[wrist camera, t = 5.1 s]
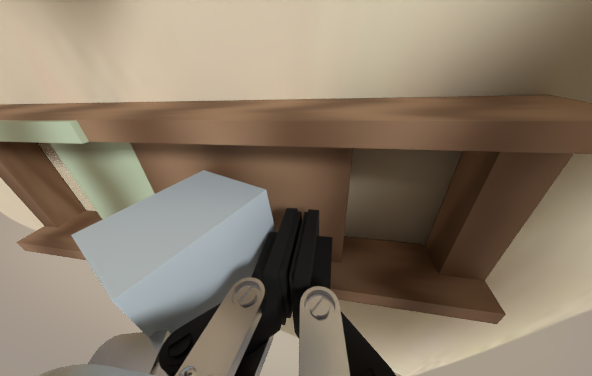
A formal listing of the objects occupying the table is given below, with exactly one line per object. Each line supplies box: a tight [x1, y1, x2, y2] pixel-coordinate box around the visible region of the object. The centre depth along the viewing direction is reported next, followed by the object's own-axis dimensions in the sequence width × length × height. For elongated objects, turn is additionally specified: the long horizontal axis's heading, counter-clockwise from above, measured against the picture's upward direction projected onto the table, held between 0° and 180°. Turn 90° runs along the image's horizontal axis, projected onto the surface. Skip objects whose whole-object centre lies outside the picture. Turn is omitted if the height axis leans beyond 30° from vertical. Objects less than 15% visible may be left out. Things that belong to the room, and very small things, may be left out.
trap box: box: [0, 95, 592, 324], centre depth 14 cm, size 35×11×5 cm, turn 93°
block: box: [71, 170, 276, 337], centre depth 10 cm, size 5×5×6 cm
